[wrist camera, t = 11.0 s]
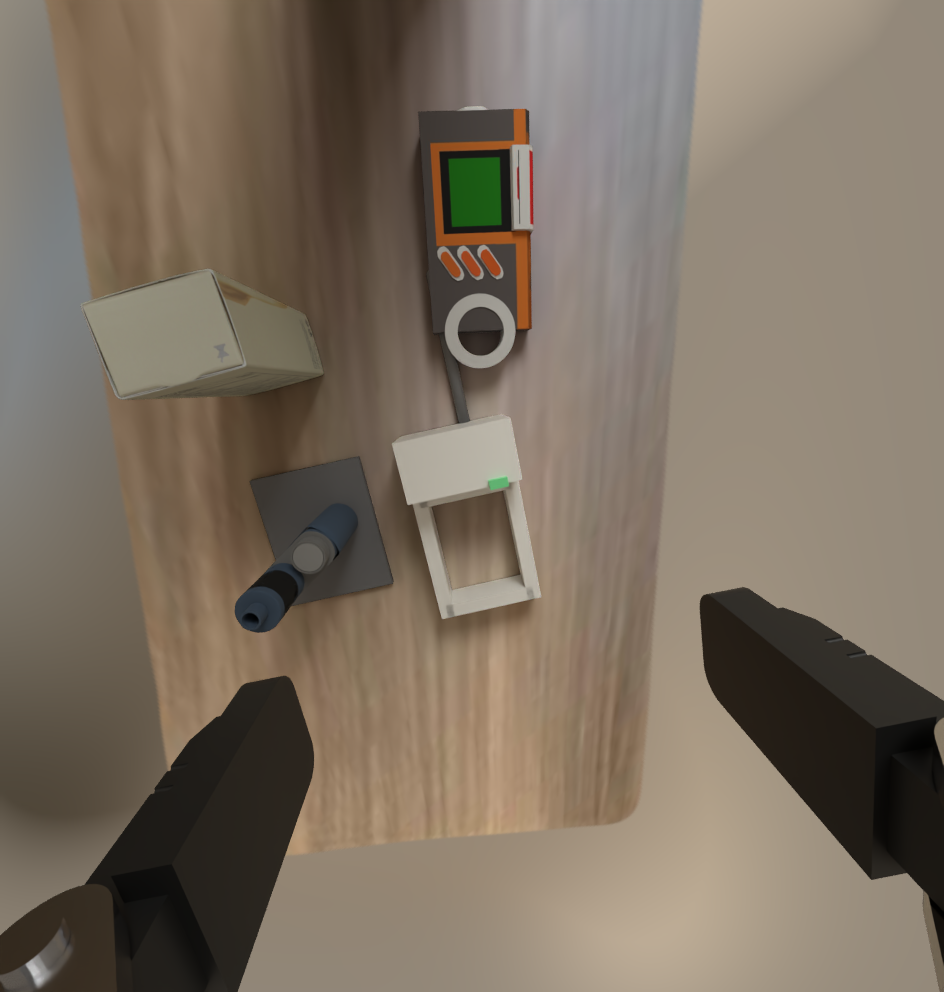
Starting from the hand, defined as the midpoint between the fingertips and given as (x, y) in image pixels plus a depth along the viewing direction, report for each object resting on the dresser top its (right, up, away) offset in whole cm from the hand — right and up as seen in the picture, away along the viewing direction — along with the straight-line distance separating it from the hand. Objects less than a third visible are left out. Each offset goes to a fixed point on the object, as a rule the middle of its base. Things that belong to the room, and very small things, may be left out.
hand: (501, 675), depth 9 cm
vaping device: (-11, +1, +25) cm, 28 cm away
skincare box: (-14, +13, +23) cm, 30 cm away
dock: (-2, +7, +25) cm, 26 cm away
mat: (-12, +1, +26) cm, 28 cm away
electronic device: (0, +20, +23) cm, 30 cm away
